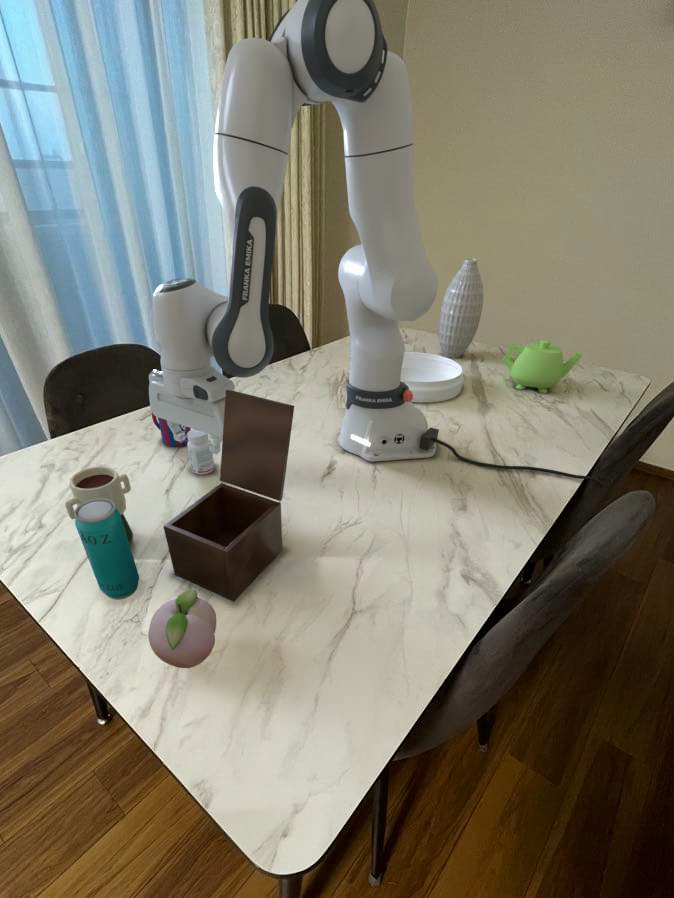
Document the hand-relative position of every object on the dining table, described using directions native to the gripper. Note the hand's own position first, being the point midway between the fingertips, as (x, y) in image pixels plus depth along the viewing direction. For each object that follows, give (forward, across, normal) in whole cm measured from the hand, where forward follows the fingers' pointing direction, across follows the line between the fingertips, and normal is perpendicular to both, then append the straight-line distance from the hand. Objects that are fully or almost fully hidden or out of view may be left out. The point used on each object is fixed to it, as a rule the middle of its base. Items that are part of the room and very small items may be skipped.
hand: (197, 446), depth 96 cm
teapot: (+4, +50, +89) cm, 102 cm away
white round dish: (+5, +20, +71) cm, 74 cm away
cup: (+6, -15, +8) cm, 18 cm away
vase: (+4, +21, +103) cm, 106 cm away
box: (+6, +24, -20) cm, 31 cm away
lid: (-12, +23, -12) cm, 29 cm away
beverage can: (+6, +14, -33) cm, 36 cm away
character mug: (+6, +4, -26) cm, 27 cm away
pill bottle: (+6, 0, +1) cm, 6 cm away
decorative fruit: (+6, +31, -37) cm, 49 cm away
